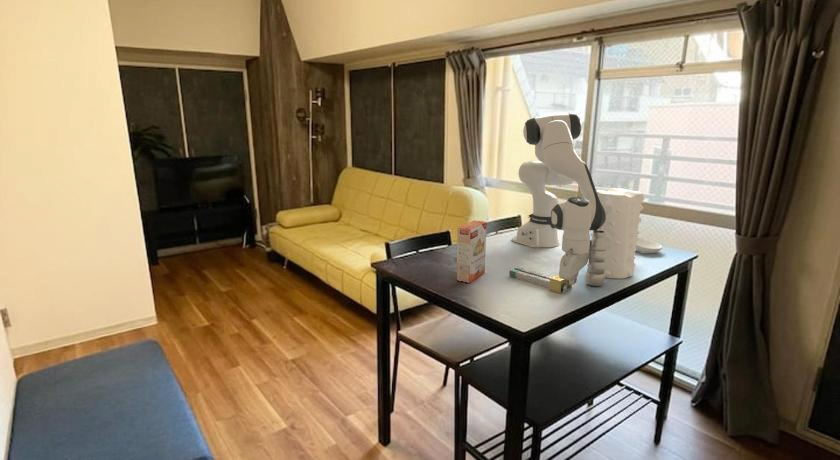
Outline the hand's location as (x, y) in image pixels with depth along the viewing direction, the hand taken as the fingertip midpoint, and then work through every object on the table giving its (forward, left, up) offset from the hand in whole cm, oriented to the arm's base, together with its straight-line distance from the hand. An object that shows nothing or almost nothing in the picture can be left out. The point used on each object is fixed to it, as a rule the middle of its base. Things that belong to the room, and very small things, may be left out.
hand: (572, 283), depth 159 cm
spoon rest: (-6, +65, -4) cm, 65 cm away
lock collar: (-4, 0, -3) cm, 5 cm away
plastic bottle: (+2, +12, -3) cm, 12 cm away
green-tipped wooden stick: (-13, -1, -3) cm, 14 cm away
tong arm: (-17, +1, -3) cm, 17 cm away
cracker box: (-35, -13, -3) cm, 37 cm away
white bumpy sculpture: (0, +29, -3) cm, 29 cm away
